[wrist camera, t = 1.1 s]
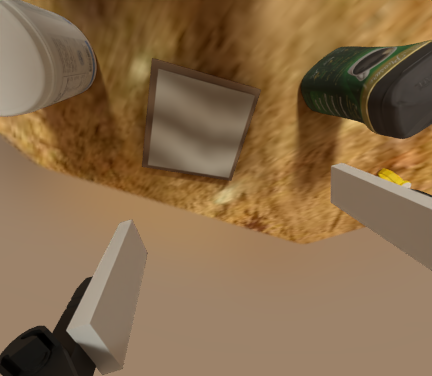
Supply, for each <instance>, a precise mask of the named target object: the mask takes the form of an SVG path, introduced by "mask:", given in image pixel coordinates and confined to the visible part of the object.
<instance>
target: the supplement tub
mask: <svg viewBox="0 0 432 376" xmlns="http://www.w3.org/2000/svg"><path fill="white" fill-rule="evenodd" d="M96 69H97V65H96V58H95V55H94V52H93V49H92V47H91V45H90V43H89V41H88V40H87V38H86V37H85V36H84V34H83V33H82V32H81V31H80V30H79V29H78V28H77V27H76V26H75V25H74V24H73V23H71V22H70V21H68V20H67V19H65V18H64V17H62V16H60V15H58V14H56V13H53V12H50V11H48V10H45V9H42V8H40V7H37V6H34V5H32V4H29V3H26V2H23V1H21V0H0V116H2V117H8V116H16V115H22V114H27V113H31V112H34V111H36V110H39V109H42V108H45V107H47V106H50V105H52V104H55V103H57V102H60V101H63V100H65V99H68V98H70V97H73V96H75V95H78V94H80V93H82V92H84V91H86V90H87V89H88V88H89V87H90V86H91V85H92V83H93V81H94V79H95V76H96Z"/></svg>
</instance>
